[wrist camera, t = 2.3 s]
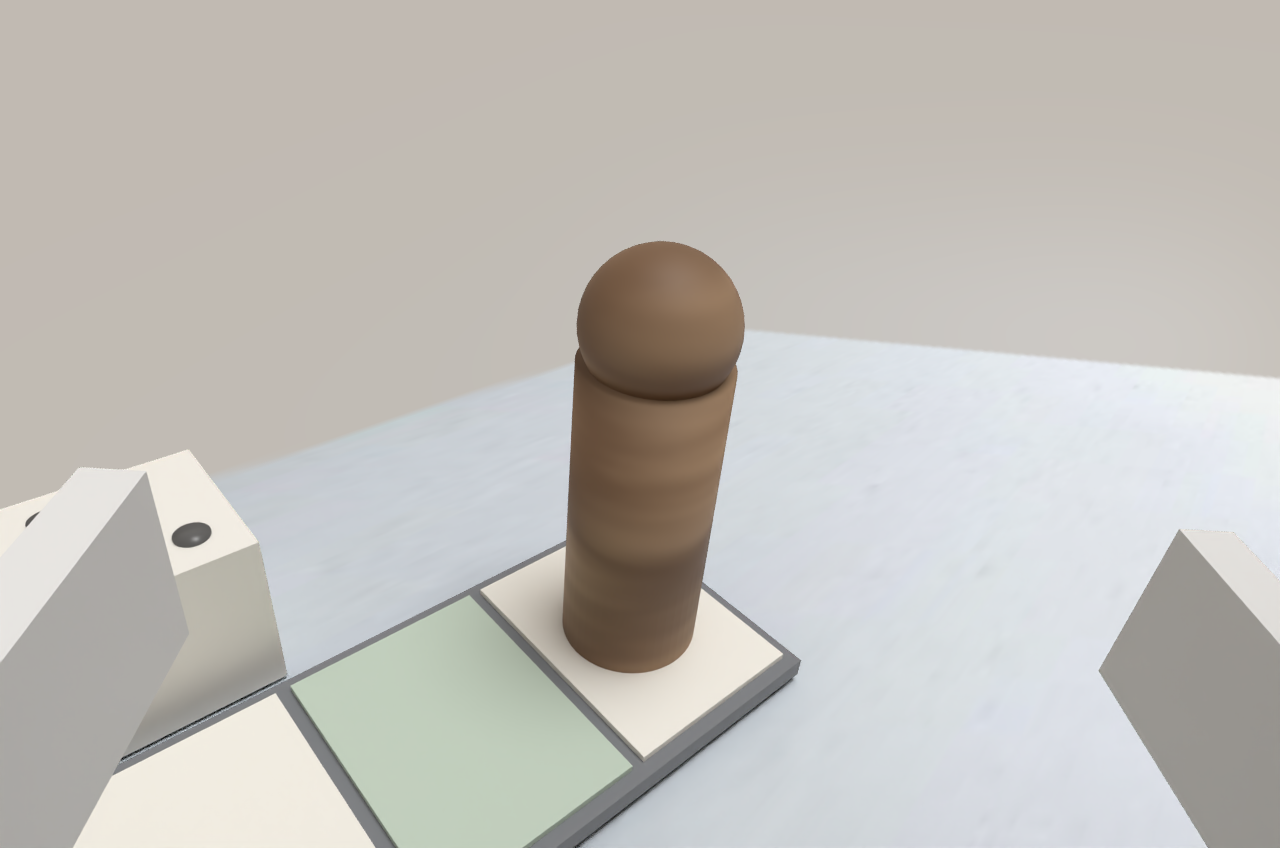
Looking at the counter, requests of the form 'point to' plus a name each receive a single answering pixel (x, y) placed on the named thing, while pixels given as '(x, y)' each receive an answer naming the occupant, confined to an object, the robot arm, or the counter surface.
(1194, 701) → the robot arm
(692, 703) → the board
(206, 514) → the die
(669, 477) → the pawn
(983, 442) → the counter surface
